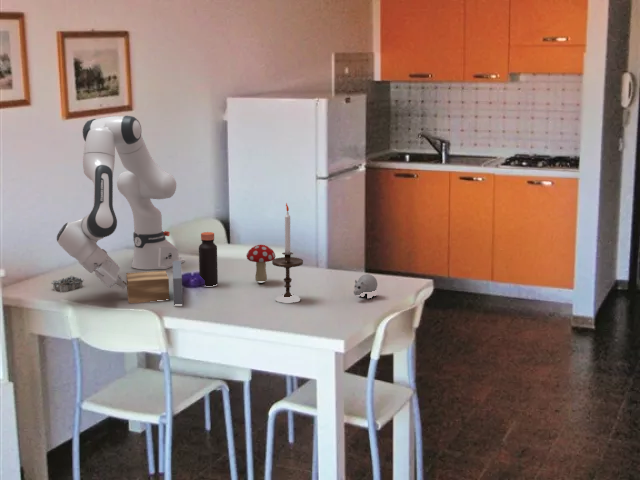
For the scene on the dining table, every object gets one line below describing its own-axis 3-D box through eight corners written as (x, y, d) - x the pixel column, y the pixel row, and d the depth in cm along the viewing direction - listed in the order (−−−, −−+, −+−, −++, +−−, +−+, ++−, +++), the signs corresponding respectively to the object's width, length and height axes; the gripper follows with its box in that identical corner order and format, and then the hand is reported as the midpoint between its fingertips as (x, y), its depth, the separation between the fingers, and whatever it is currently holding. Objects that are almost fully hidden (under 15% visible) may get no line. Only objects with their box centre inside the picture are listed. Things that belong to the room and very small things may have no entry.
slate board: (173, 286, 333) (172, 260, 331) (181, 286, 334) (180, 260, 332) (173, 306, 308) (172, 278, 306) (182, 306, 309) (181, 278, 307)
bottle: (195, 285, 336) (194, 233, 332) (209, 282, 341) (208, 230, 336) (207, 288, 331) (206, 236, 327) (221, 285, 336) (220, 233, 332)
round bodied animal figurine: (345, 300, 317) (345, 277, 315) (364, 293, 326) (364, 270, 324) (362, 304, 313) (362, 280, 311) (381, 296, 322) (381, 274, 320)
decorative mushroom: (258, 288, 332) (258, 249, 328) (240, 282, 340) (240, 244, 336) (281, 283, 339) (281, 245, 335) (263, 278, 347) (263, 240, 344)
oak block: (127, 294, 324) (126, 273, 322) (166, 291, 327) (165, 270, 326) (129, 303, 312) (128, 281, 311) (169, 300, 316) (168, 278, 314)
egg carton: (62, 293, 325) (62, 282, 324) (49, 290, 329) (48, 279, 328) (86, 287, 333) (85, 276, 333) (72, 284, 338) (72, 273, 337)
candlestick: (268, 297, 320) (267, 201, 312) (296, 294, 324) (296, 199, 317) (278, 305, 310) (278, 206, 303) (307, 302, 314) (308, 204, 307)
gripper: (99, 261, 304) (130, 288, 307) (104, 248, 323) (132, 273, 327) (86, 274, 304) (117, 301, 307) (91, 260, 324) (120, 285, 327)
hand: (125, 286), depth 317 cm, fingers closed
